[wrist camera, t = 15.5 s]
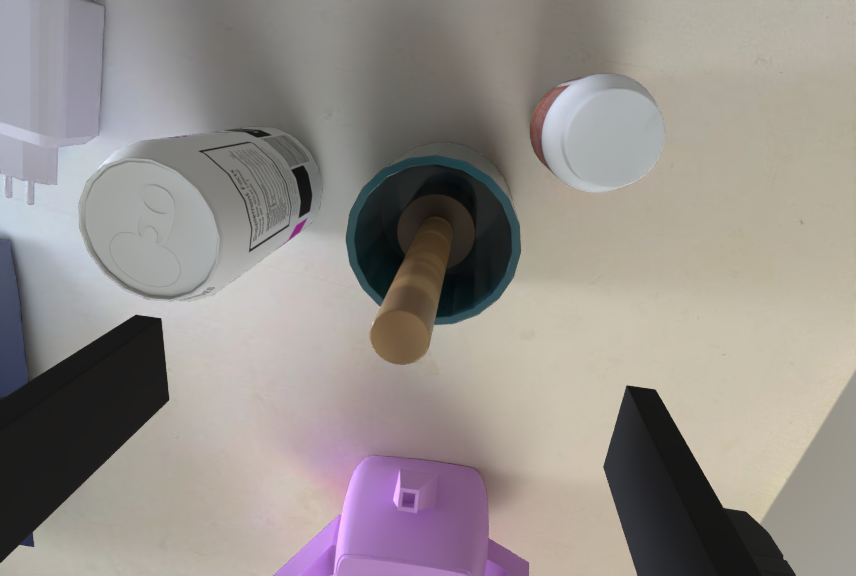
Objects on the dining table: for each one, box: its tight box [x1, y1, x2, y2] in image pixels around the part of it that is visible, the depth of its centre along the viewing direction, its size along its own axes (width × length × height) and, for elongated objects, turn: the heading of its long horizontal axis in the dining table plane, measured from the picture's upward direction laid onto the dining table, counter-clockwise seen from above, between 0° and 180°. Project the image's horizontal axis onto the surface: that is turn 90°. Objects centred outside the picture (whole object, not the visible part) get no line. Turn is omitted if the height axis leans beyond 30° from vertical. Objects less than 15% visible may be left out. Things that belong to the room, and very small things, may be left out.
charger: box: [0, 0, 105, 205], centre depth 35 cm, size 5×9×15 cm
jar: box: [346, 142, 521, 325], centre depth 33 cm, size 10×10×9 cm
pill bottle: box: [530, 73, 665, 193], centre depth 29 cm, size 6×6×11 cm
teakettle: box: [273, 456, 529, 576], centre depth 42 cm, size 17×17×12 cm
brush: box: [370, 182, 476, 365], centre depth 27 cm, size 5×5×20 cm
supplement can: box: [79, 127, 323, 302], centre depth 31 cm, size 8×8×15 cm
